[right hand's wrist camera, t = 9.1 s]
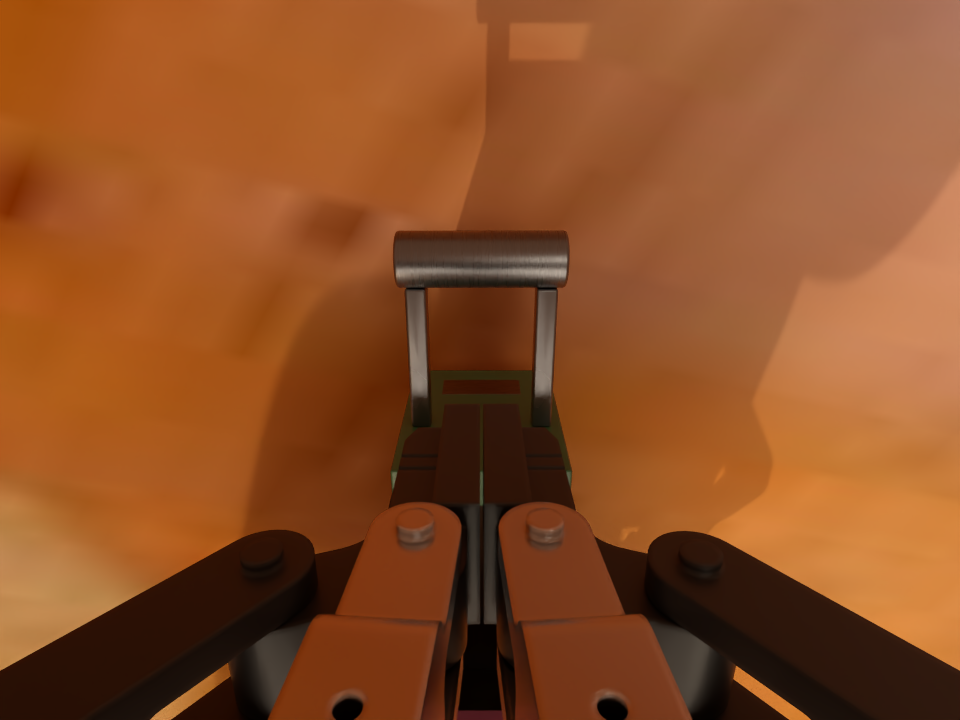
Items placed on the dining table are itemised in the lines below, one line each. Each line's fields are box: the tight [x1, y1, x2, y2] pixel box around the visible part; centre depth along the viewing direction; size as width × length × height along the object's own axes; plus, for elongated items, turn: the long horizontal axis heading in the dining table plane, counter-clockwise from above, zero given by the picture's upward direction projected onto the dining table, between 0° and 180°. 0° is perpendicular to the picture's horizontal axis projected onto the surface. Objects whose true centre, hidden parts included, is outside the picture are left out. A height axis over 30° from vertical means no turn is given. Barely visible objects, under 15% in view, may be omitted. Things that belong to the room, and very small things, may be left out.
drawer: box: [391, 231, 572, 710], centre depth 21 cm, size 21×5×7 cm, turn 0°
